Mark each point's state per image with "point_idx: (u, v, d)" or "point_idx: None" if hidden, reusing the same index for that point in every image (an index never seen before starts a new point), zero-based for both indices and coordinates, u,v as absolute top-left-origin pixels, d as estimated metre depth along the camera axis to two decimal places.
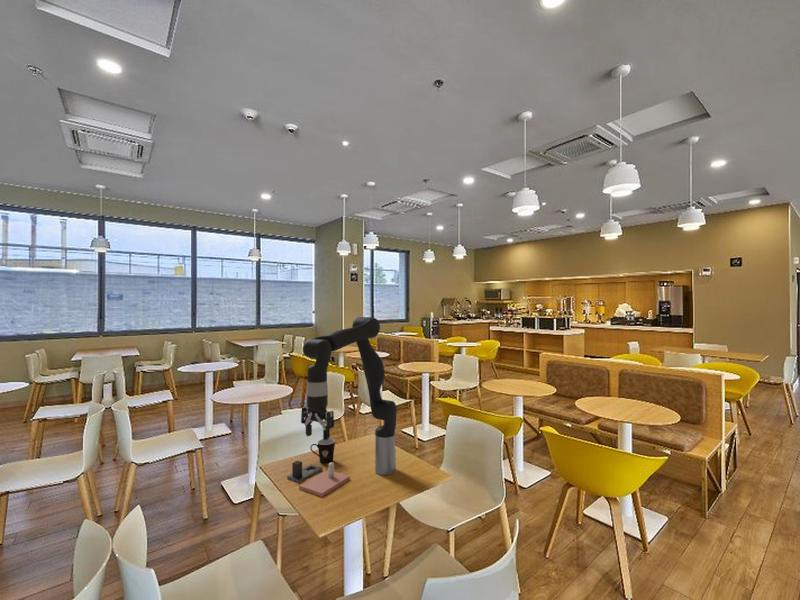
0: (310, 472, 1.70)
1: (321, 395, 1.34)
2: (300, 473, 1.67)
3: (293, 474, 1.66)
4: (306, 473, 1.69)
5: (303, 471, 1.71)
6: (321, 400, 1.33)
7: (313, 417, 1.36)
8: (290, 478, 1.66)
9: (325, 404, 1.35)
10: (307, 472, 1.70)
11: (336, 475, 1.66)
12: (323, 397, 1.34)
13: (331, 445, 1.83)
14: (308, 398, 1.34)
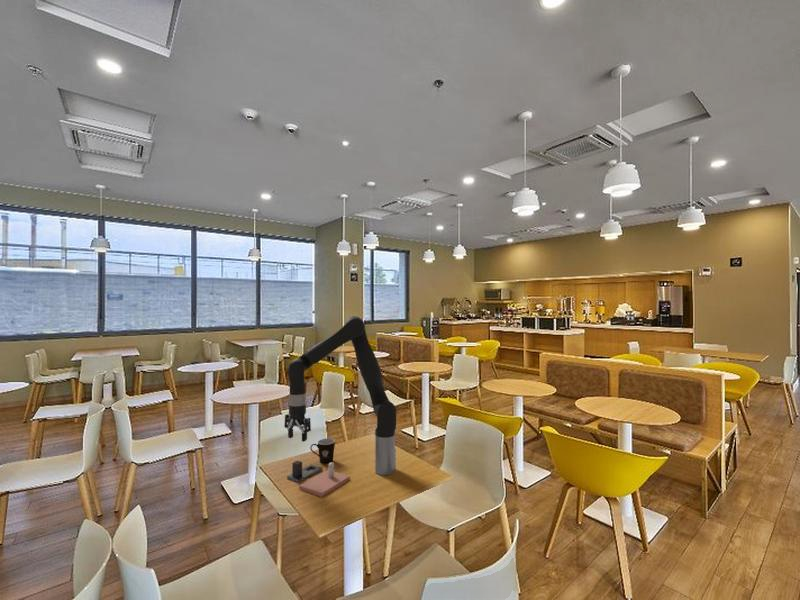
0: (310, 472, 1.70)
1: (300, 405, 1.65)
2: (300, 473, 1.67)
3: (293, 474, 1.66)
4: (306, 473, 1.69)
5: (303, 471, 1.71)
6: (300, 409, 1.65)
7: (294, 423, 1.67)
8: (290, 478, 1.66)
9: (303, 412, 1.66)
10: (307, 472, 1.70)
11: (336, 475, 1.66)
12: (302, 406, 1.65)
13: (331, 445, 1.83)
14: (290, 407, 1.65)
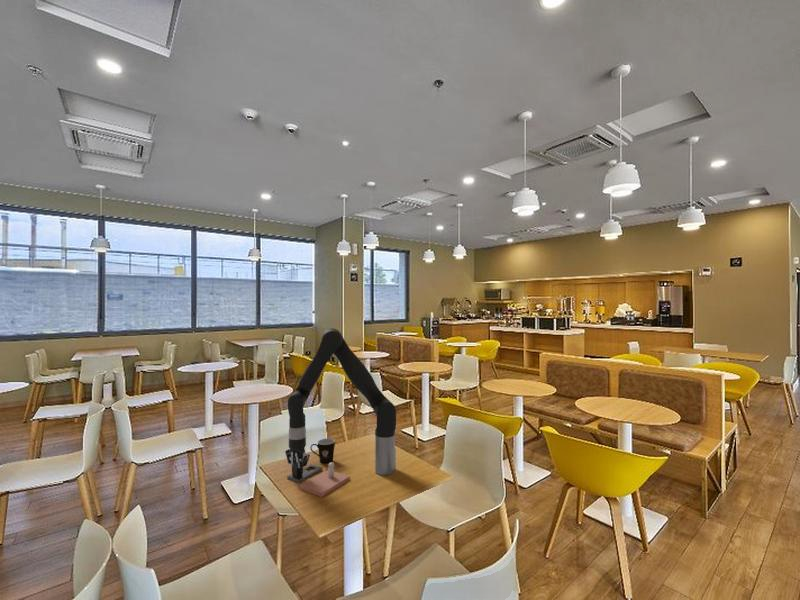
0: (310, 472, 1.70)
1: (300, 438, 1.64)
2: None
3: (293, 474, 1.66)
4: (306, 473, 1.69)
5: (303, 471, 1.71)
6: (300, 442, 1.64)
7: (294, 455, 1.67)
8: (290, 478, 1.66)
9: (303, 445, 1.66)
10: (307, 472, 1.70)
11: (336, 475, 1.66)
12: (302, 440, 1.65)
13: (331, 445, 1.83)
14: (289, 440, 1.65)
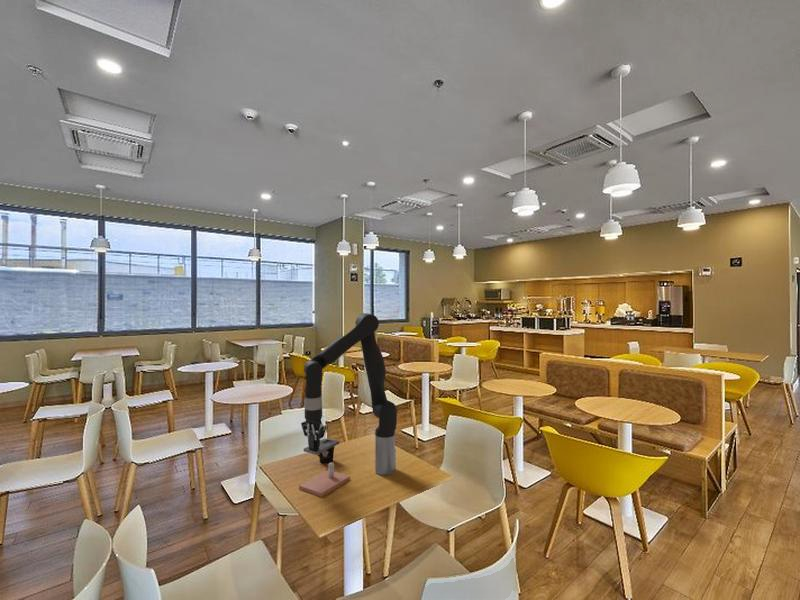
0: (327, 445, 1.64)
1: (316, 409, 1.58)
2: None
3: (309, 446, 1.60)
4: (323, 446, 1.63)
5: (320, 444, 1.65)
6: (316, 413, 1.58)
7: (310, 427, 1.60)
8: (306, 450, 1.59)
9: (320, 416, 1.59)
10: (324, 445, 1.64)
11: (336, 475, 1.66)
12: (318, 410, 1.58)
13: None
14: (305, 411, 1.58)
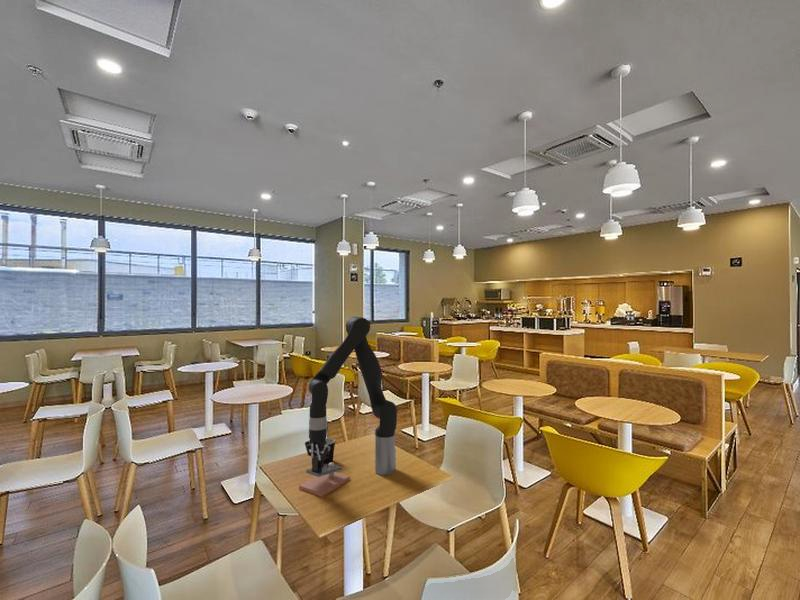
0: (330, 469, 1.61)
1: (321, 429, 1.55)
2: None
3: (313, 468, 1.57)
4: (326, 469, 1.60)
5: None
6: (321, 433, 1.55)
7: (314, 447, 1.58)
8: (309, 472, 1.56)
9: (324, 436, 1.56)
10: (327, 469, 1.61)
11: (336, 475, 1.66)
12: (323, 430, 1.56)
13: (331, 445, 1.83)
14: (310, 431, 1.56)
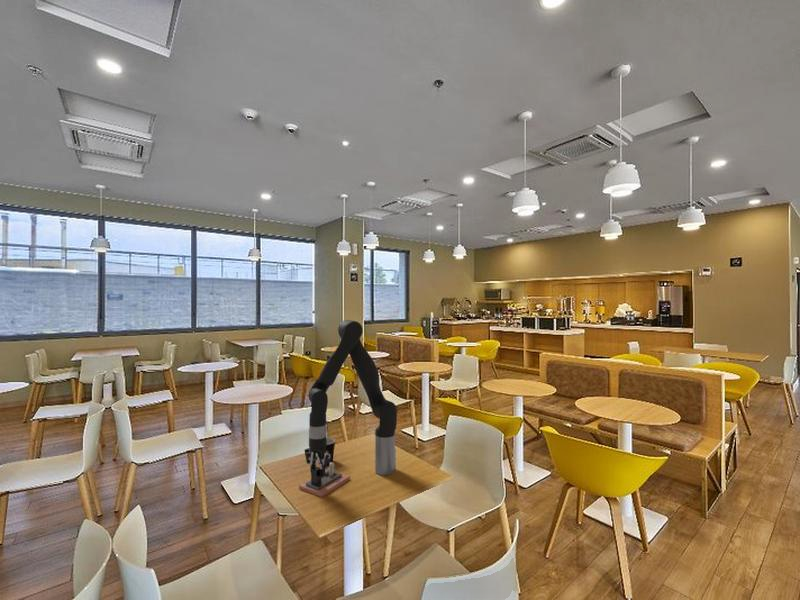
0: (329, 479, 1.60)
1: (321, 437, 1.55)
2: (319, 480, 1.57)
3: (312, 481, 1.56)
4: (325, 480, 1.59)
5: (322, 478, 1.61)
6: (321, 442, 1.55)
7: (314, 456, 1.57)
8: (309, 485, 1.56)
9: (324, 445, 1.56)
10: (326, 479, 1.60)
11: None
12: (323, 439, 1.56)
13: (331, 445, 1.83)
14: (310, 440, 1.56)
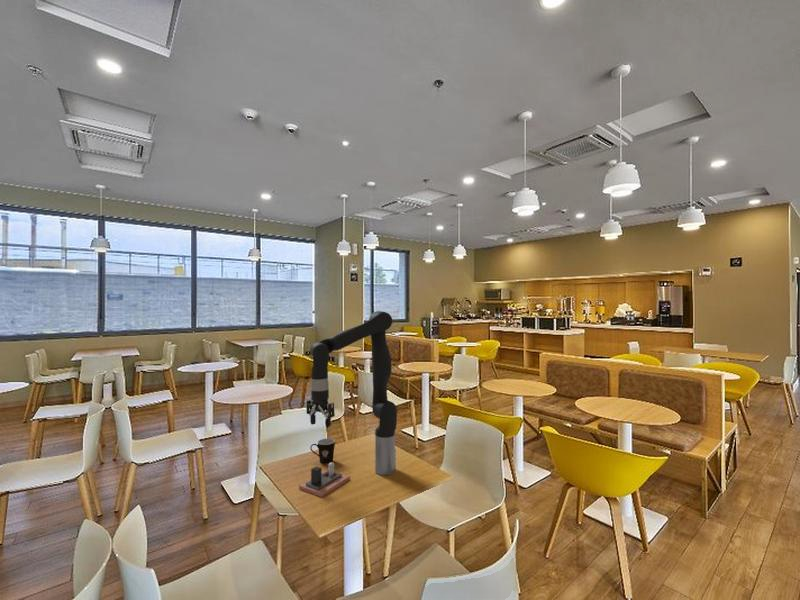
0: (329, 479, 1.60)
1: (323, 390, 1.59)
2: (319, 480, 1.57)
3: (312, 481, 1.56)
4: (325, 480, 1.59)
5: (322, 478, 1.61)
6: (323, 394, 1.59)
7: (317, 408, 1.61)
8: (309, 485, 1.56)
9: (326, 397, 1.60)
10: (326, 479, 1.60)
11: None
12: (325, 391, 1.60)
13: (331, 445, 1.83)
14: (312, 392, 1.59)
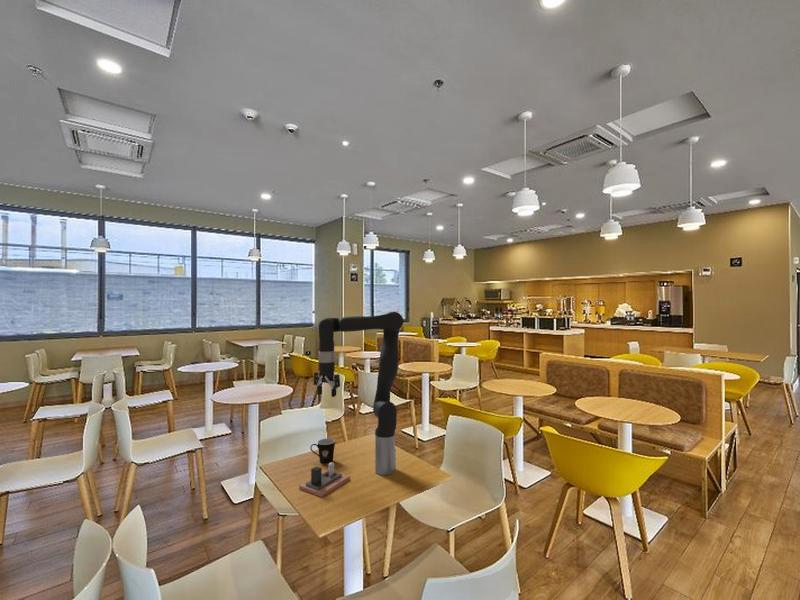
0: (329, 479, 1.60)
1: (330, 361, 1.70)
2: (319, 480, 1.57)
3: (312, 481, 1.56)
4: (325, 480, 1.59)
5: (322, 478, 1.61)
6: (330, 365, 1.70)
7: (323, 379, 1.72)
8: (309, 485, 1.56)
9: (333, 369, 1.71)
10: (326, 479, 1.60)
11: None
12: (331, 363, 1.70)
13: (331, 445, 1.83)
14: (319, 364, 1.70)
